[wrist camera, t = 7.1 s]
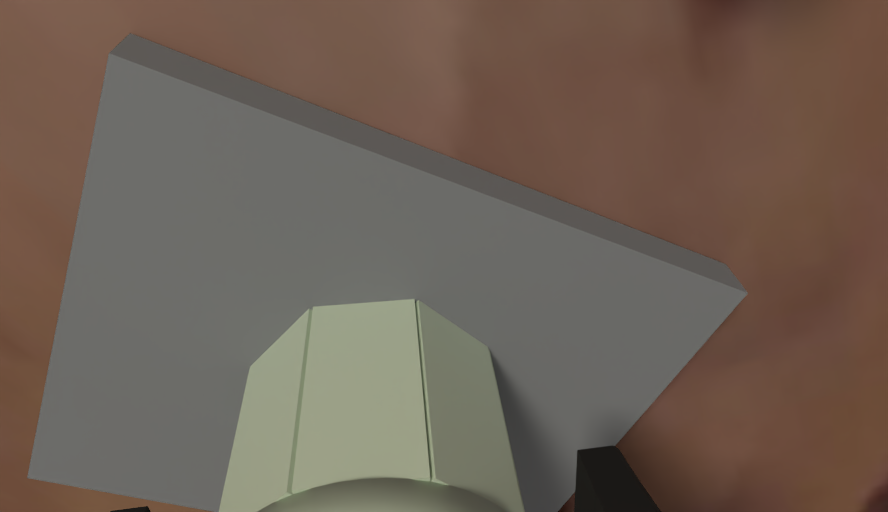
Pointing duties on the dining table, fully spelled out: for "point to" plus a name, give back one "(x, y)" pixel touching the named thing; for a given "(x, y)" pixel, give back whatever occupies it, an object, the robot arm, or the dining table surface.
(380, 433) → the cap
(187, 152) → the mat
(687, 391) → the dining table surface
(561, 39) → the dining table surface
